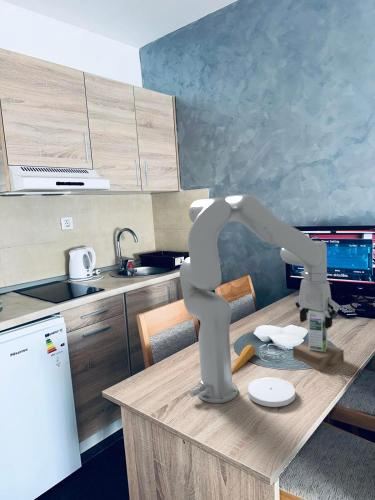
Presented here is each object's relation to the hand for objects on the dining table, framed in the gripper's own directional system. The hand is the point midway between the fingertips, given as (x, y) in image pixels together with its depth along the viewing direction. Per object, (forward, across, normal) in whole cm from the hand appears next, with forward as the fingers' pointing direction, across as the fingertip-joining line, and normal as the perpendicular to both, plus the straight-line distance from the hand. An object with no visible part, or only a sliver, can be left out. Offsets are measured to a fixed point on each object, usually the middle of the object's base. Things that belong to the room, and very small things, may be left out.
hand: (315, 324), depth 125 cm
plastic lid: (+14, +3, -29) cm, 33 cm away
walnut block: (+14, 0, 0) cm, 14 cm away
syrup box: (+9, +1, 0) cm, 9 cm away
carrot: (+14, -18, -20) cm, 31 cm away
